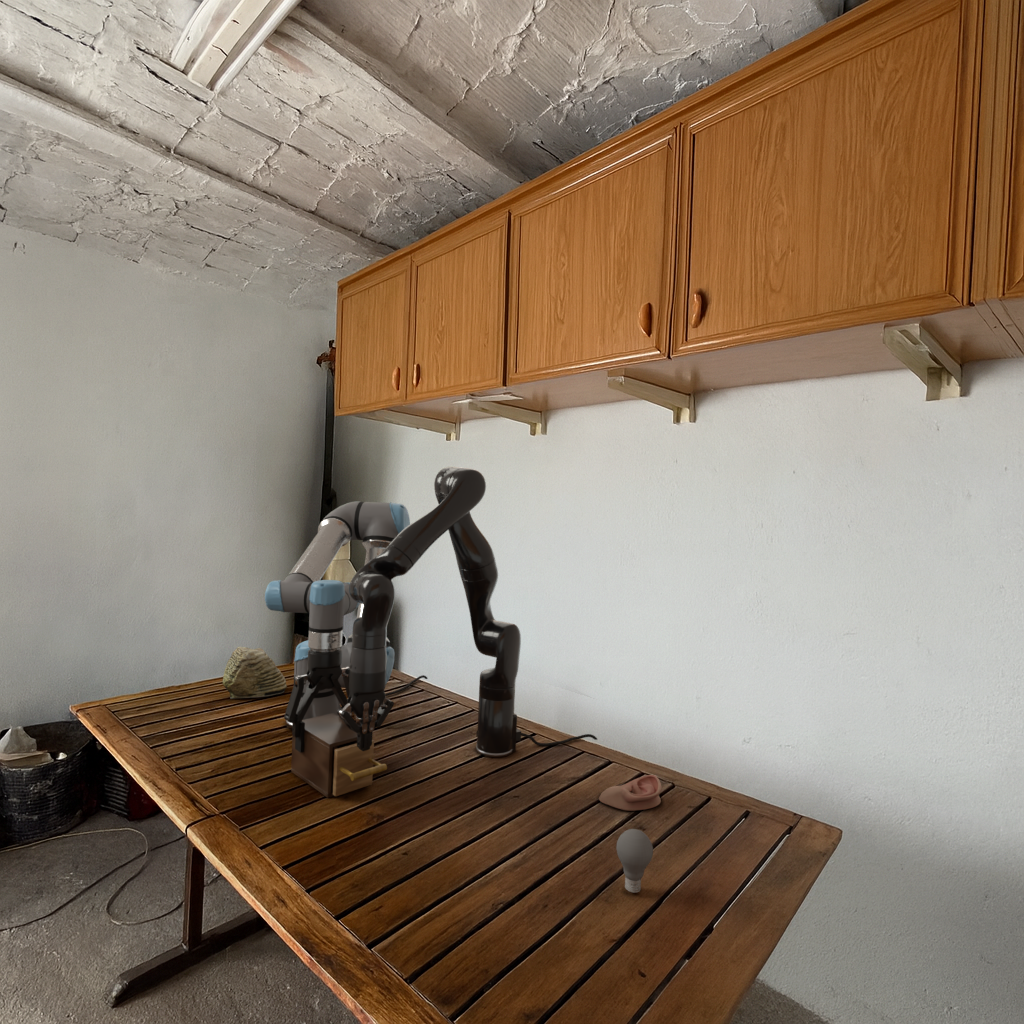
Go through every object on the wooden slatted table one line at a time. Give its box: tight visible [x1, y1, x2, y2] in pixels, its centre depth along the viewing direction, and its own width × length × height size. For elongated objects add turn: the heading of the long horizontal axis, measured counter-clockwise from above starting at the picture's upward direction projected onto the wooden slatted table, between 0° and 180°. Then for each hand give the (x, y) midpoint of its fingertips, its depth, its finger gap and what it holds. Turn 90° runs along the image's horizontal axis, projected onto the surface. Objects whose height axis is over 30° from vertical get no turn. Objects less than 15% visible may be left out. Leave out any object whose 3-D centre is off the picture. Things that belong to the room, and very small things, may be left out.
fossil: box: [222, 646, 288, 699], centre depth 198 cm, size 9×18×15 cm, turn 132°
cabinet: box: [290, 713, 357, 799], centre depth 143 cm, size 17×10×11 cm, turn 45°
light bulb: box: [615, 828, 654, 894], centre depth 106 cm, size 6×6×10 cm
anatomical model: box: [598, 774, 663, 812], centre depth 139 cm, size 13×4×12 cm
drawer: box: [331, 739, 388, 797], centre depth 139 cm, size 21×9×10 cm, turn 45°
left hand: (321, 744), depth 146 cm, fingers closed on cabinet, 10 cm apart
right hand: (364, 749), depth 133 cm, fingers closed
